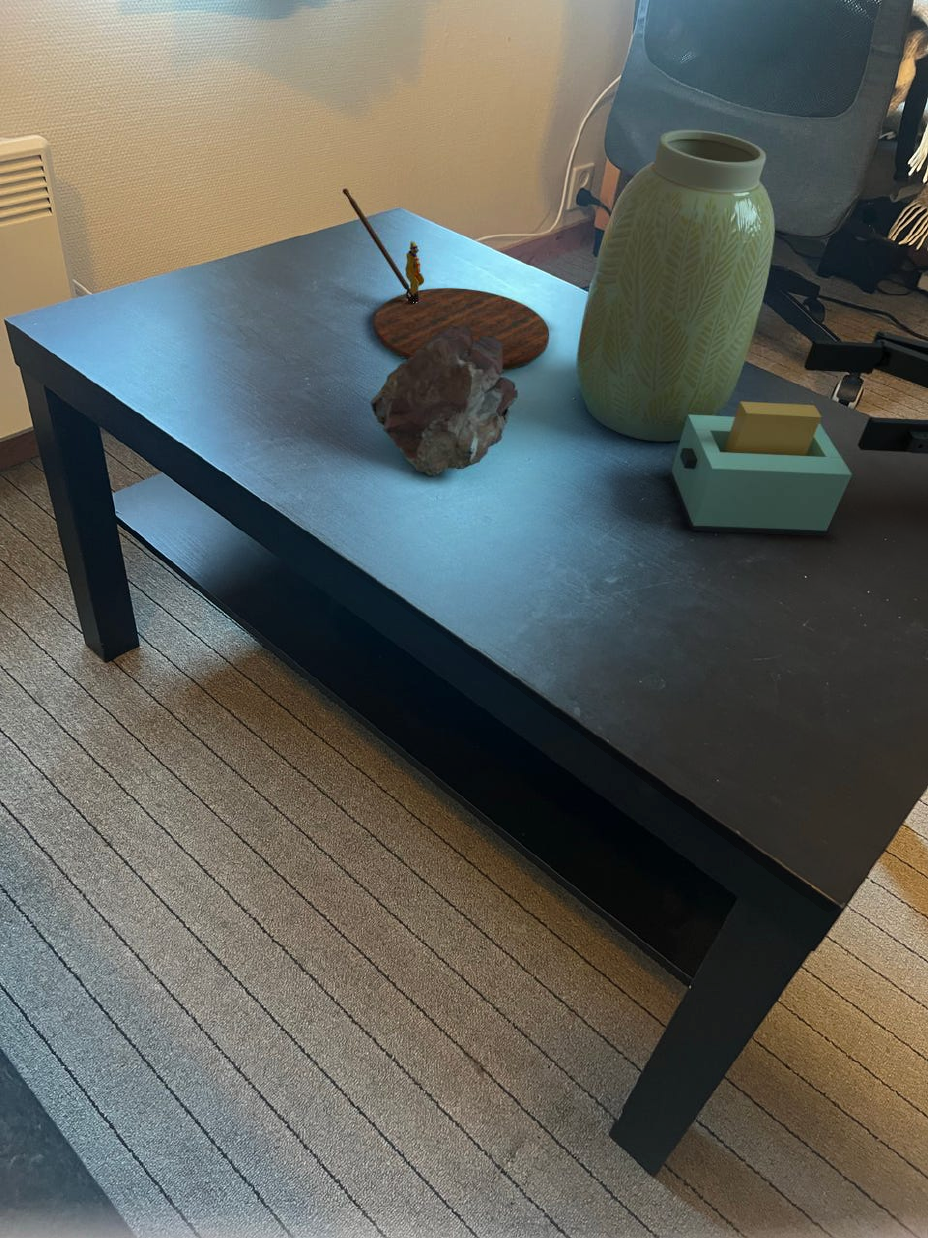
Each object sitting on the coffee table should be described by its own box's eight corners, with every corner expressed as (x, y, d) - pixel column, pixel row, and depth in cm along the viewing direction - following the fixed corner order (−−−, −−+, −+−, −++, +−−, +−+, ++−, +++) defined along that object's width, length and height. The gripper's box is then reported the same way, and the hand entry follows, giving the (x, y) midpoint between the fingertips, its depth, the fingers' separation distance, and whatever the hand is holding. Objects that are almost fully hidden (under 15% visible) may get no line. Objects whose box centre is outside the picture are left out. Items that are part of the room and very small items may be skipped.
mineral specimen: (385, 490, 95) (453, 390, 101) (488, 501, 87) (555, 393, 94) (330, 402, 86) (409, 300, 93) (439, 407, 79) (516, 295, 85)
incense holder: (476, 394, 101) (488, 295, 93) (283, 301, 113) (279, 207, 105) (581, 335, 114) (598, 244, 106) (397, 257, 126) (401, 170, 118)
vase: (614, 355, 110) (669, 106, 92) (748, 409, 104) (835, 152, 86) (538, 410, 100) (583, 139, 81) (682, 473, 93) (766, 194, 75)
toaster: (794, 480, 94) (818, 420, 89) (824, 536, 88) (852, 474, 83) (660, 475, 93) (677, 413, 88) (680, 530, 86) (700, 467, 81)
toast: (778, 495, 91) (814, 404, 84) (785, 507, 89) (821, 416, 83) (709, 492, 90) (739, 401, 83) (714, 504, 89) (746, 412, 82)
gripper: (1112, 519, 78) (873, 511, 75) (974, 372, 96) (778, 362, 94) (1167, 443, 73) (912, 431, 70) (1010, 303, 91) (803, 290, 88)
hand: (835, 391), depth 82 cm, fingers open, 13 cm apart
